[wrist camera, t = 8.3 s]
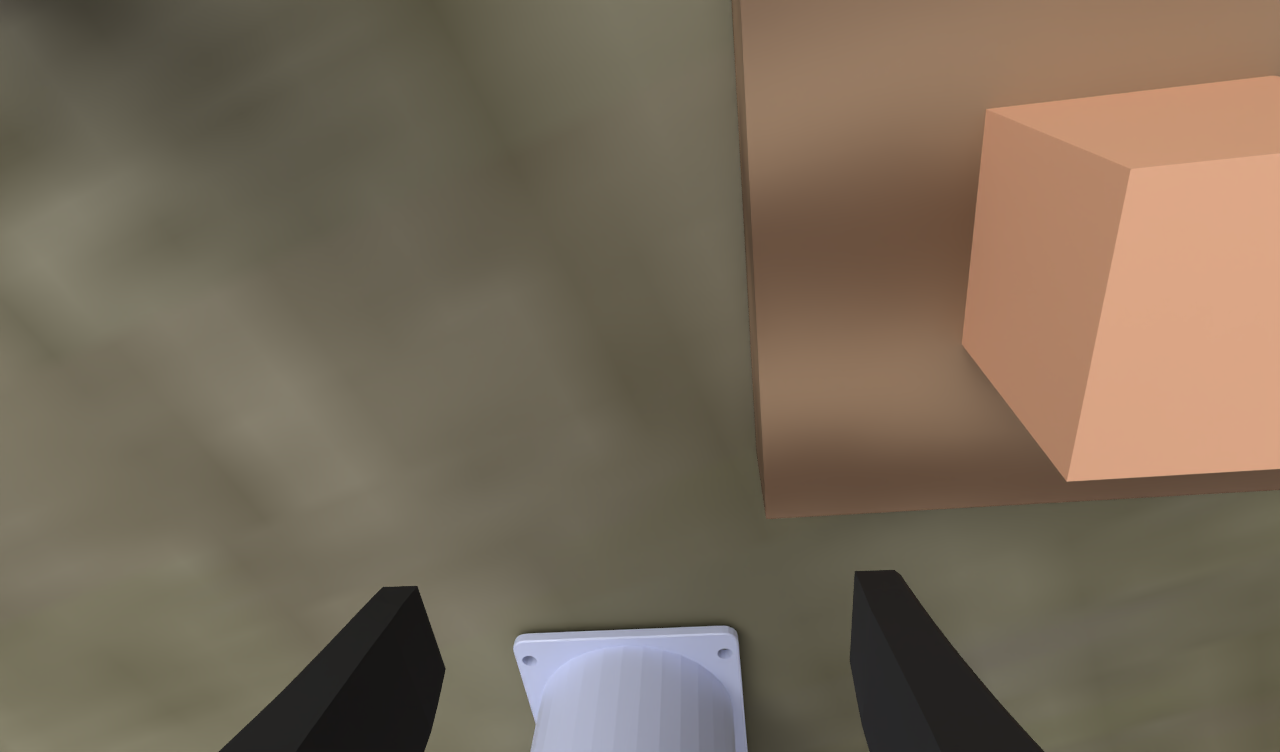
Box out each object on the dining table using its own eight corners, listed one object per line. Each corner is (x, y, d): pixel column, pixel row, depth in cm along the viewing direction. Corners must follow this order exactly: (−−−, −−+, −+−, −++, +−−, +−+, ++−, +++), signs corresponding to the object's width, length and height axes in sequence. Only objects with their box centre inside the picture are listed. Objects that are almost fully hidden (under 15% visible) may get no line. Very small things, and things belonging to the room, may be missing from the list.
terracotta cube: (1203, 324, 15) (1410, 460, 11) (961, 344, 16) (1066, 481, 11) (1273, 75, 13) (1574, 122, 8) (986, 109, 13) (1130, 168, 9)
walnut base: (1265, 418, 20) (1354, 485, 17) (756, 452, 21) (766, 519, 18) (1492, -226, 13) (1698, -280, 10) (725, -107, 14) (733, -126, 12)
